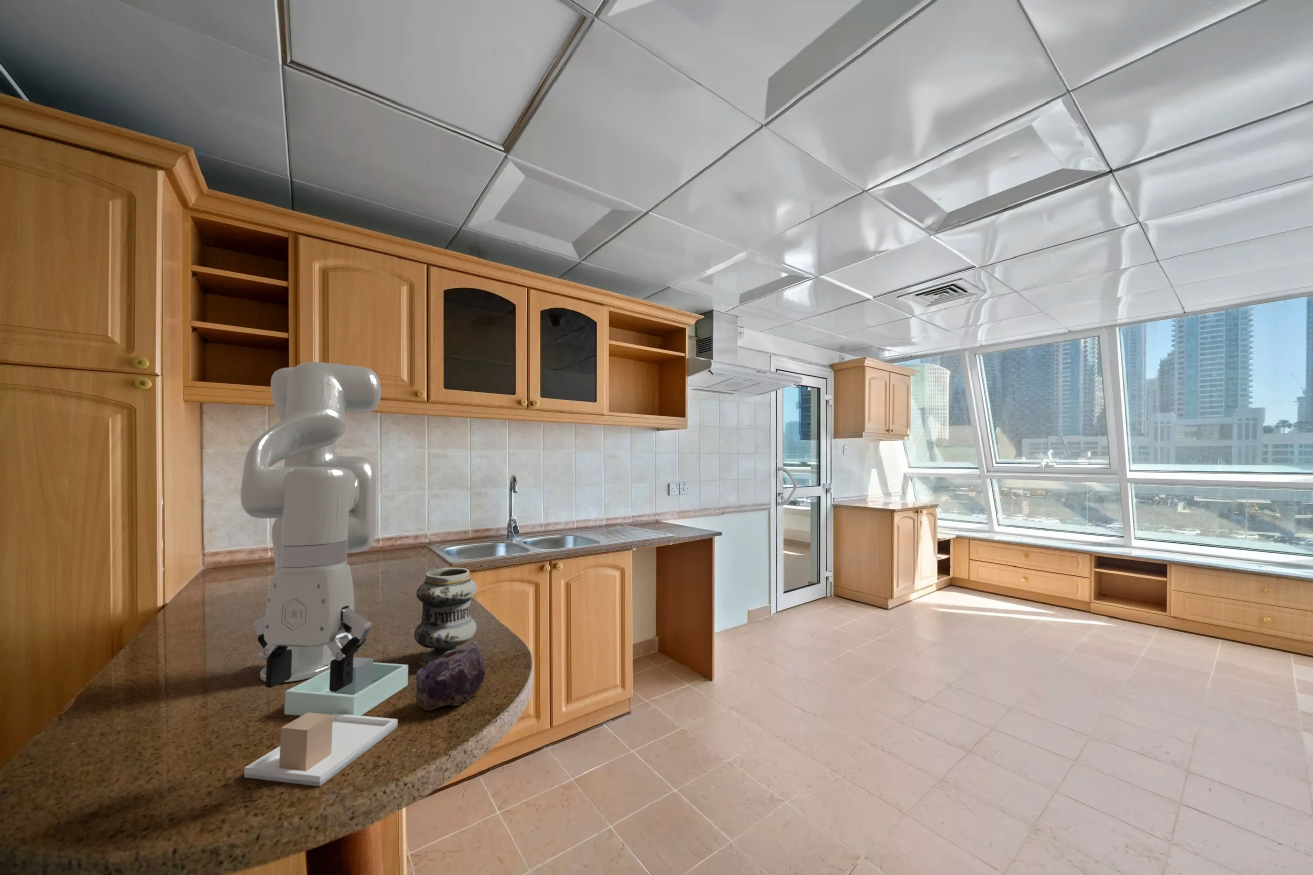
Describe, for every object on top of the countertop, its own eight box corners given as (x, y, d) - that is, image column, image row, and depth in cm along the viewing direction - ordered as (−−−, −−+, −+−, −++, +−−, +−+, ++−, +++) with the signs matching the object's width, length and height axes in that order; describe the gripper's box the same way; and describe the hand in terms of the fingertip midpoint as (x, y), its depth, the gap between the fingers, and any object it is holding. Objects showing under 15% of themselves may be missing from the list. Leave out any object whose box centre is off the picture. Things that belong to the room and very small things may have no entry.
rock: (411, 711, 81) (444, 728, 75) (404, 662, 81) (437, 676, 75) (473, 676, 91) (506, 689, 85) (466, 632, 90) (500, 642, 85)
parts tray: (244, 777, 62) (244, 767, 62) (333, 721, 76) (333, 713, 76) (319, 786, 60) (320, 776, 60) (397, 727, 74) (397, 719, 74)
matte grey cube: (334, 697, 83) (335, 666, 83) (352, 686, 86) (353, 657, 87) (354, 698, 82) (355, 667, 82) (372, 688, 86) (373, 658, 86)
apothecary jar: (447, 673, 93) (449, 579, 95) (399, 665, 97) (402, 575, 98) (487, 651, 105) (489, 567, 106) (443, 644, 109) (445, 564, 110)
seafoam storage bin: (284, 713, 78) (285, 691, 78) (346, 680, 91) (347, 660, 91) (353, 720, 76) (354, 696, 76) (407, 684, 89) (408, 664, 89)
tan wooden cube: (279, 768, 63) (281, 727, 63) (306, 751, 67) (307, 712, 67) (305, 771, 62) (307, 730, 63) (331, 753, 66) (332, 714, 67)
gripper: (233, 560, 64) (226, 694, 62) (348, 561, 61) (343, 702, 60) (285, 551, 71) (280, 671, 70) (390, 552, 69) (386, 677, 67)
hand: (309, 685), depth 65 cm, fingers open, 9 cm apart
